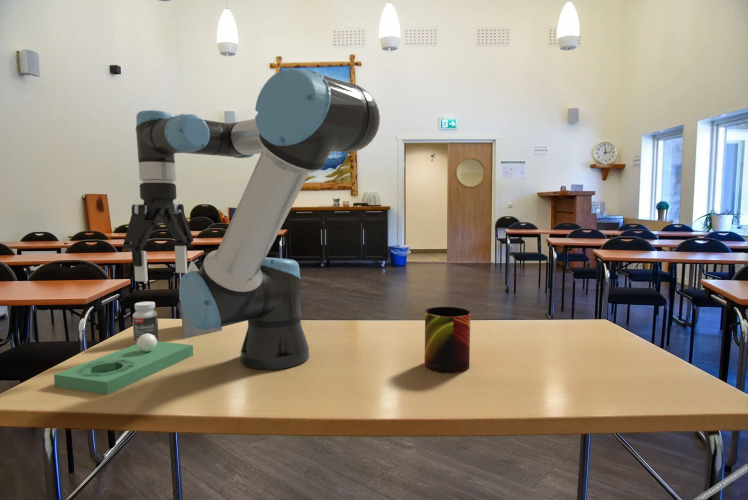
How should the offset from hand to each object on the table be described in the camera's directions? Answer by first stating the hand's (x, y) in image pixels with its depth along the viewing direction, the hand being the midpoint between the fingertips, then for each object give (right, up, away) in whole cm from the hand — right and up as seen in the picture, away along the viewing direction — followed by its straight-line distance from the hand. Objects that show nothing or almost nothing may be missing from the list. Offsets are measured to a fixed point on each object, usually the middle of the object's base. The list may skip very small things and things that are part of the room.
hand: (162, 276), depth 111 cm
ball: (-2, -14, -4) cm, 15 cm away
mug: (+64, -19, -4) cm, 67 cm away
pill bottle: (-9, -17, +12) cm, 23 cm away
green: (-3, -19, -8) cm, 21 cm away
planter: (+2, -16, +23) cm, 28 cm away
